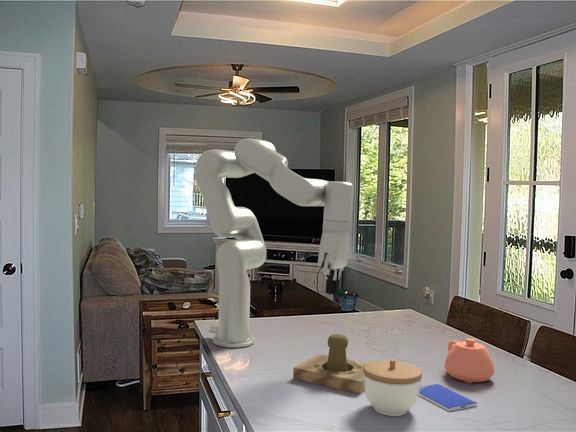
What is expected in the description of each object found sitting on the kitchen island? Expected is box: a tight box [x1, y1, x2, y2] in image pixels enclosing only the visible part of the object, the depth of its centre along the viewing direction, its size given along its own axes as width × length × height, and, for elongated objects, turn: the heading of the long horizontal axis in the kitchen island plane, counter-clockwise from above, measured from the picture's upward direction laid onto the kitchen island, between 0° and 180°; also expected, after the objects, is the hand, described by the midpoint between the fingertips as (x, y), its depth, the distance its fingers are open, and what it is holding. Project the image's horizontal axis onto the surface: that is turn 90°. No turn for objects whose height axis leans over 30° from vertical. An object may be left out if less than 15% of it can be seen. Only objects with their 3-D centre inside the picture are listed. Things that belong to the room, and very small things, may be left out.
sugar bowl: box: [444, 338, 495, 384], centre depth 144 cm, size 12×14×10 cm
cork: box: [326, 333, 349, 372], centre depth 140 cm, size 6×6×11 cm
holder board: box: [292, 353, 367, 395], centre depth 140 cm, size 18×14×3 cm
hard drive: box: [418, 383, 478, 412], centre depth 128 cm, size 2×8×12 cm
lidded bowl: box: [363, 358, 423, 417], centre depth 121 cm, size 13×13×11 cm
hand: (331, 293), depth 151 cm, fingers closed
